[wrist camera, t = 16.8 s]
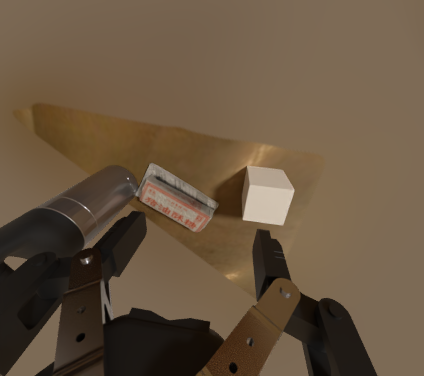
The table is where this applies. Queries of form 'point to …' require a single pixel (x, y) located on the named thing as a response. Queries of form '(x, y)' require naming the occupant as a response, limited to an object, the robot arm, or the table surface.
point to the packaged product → (176, 198)
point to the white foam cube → (266, 195)
